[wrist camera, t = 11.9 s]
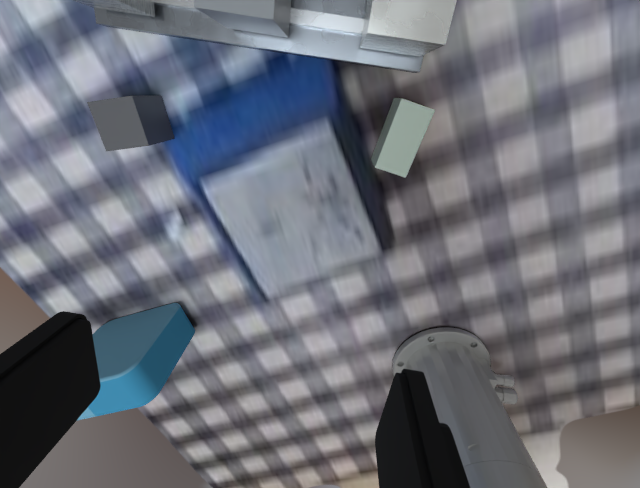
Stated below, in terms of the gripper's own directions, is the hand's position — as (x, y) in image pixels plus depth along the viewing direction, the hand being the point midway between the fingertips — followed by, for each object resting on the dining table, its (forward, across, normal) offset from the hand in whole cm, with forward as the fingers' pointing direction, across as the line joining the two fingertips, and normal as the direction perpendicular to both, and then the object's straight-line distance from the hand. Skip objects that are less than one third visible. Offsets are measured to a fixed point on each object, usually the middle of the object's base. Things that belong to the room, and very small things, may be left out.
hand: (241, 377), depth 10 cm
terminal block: (+26, -7, -6) cm, 28 cm away
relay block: (+26, +17, -4) cm, 31 cm away
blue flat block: (+27, +19, +22) cm, 39 cm away
